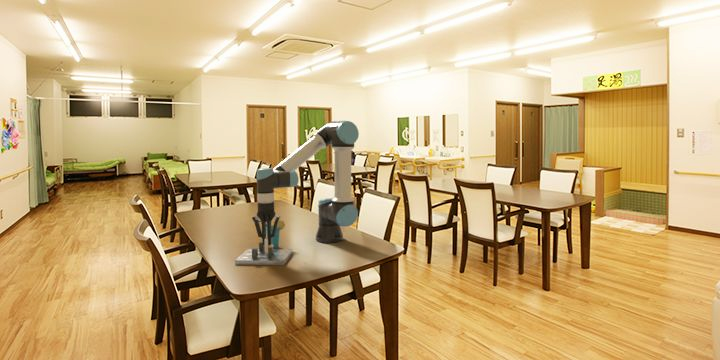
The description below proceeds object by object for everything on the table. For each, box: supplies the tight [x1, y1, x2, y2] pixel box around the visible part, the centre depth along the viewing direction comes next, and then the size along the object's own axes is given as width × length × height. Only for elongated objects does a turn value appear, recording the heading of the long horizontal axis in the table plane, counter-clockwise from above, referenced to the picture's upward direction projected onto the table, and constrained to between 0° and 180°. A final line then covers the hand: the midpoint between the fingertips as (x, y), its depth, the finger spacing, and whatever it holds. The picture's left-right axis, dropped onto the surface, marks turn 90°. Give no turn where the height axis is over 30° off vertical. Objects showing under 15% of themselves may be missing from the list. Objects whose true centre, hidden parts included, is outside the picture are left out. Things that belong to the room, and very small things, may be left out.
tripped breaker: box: [268, 245, 274, 255], centre depth 186 cm, size 2×2×4 cm
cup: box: [258, 219, 286, 249], centre depth 204 cm, size 14×8×15 cm, turn 112°
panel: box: [234, 241, 293, 266], centre depth 186 cm, size 22×18×6 cm
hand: (267, 251), depth 186 cm, fingers closed
